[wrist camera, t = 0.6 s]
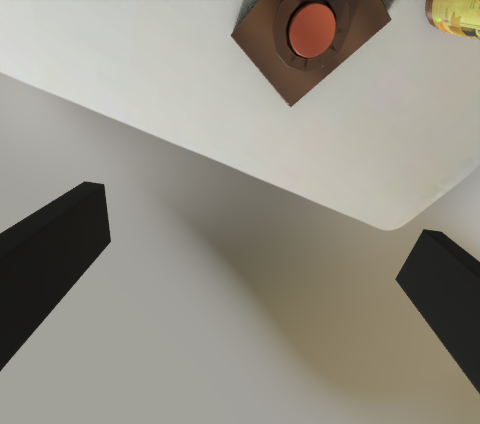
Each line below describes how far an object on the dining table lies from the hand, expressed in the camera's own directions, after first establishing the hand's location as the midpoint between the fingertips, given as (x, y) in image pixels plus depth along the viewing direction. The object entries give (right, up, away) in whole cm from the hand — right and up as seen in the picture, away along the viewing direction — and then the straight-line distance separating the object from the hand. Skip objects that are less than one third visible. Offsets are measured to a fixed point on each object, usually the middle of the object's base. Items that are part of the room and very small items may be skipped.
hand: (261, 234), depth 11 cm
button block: (+6, +21, +16) cm, 27 cm away
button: (+6, +18, +13) cm, 23 cm away
